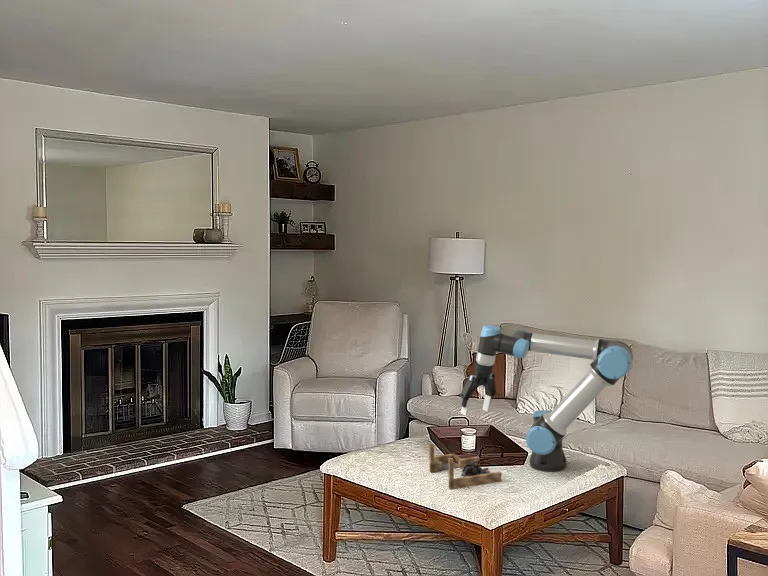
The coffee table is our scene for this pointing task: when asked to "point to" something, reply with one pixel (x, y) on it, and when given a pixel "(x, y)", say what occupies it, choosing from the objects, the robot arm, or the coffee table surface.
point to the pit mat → (445, 466)
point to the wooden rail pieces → (463, 481)
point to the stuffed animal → (473, 469)
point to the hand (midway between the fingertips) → (474, 412)
